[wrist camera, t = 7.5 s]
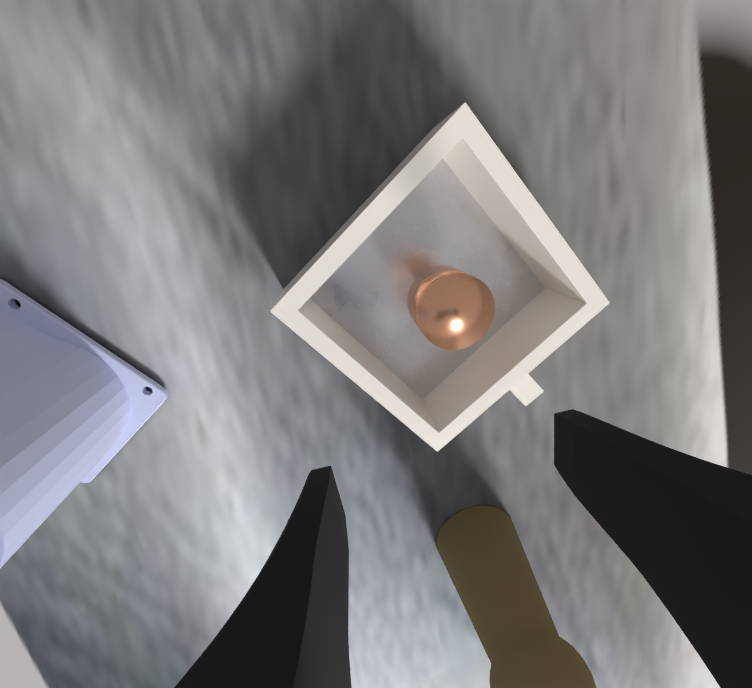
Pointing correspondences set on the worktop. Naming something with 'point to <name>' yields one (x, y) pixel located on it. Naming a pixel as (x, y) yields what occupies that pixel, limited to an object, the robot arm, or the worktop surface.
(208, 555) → the worktop surface
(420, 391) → the copper knob lid
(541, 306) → the white shallow open box
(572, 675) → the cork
